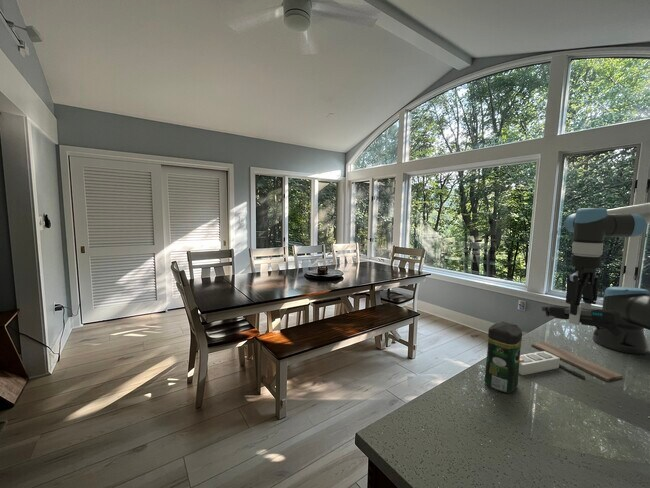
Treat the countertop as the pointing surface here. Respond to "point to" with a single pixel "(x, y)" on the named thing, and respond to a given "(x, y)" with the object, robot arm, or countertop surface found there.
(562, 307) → the gun
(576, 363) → the walnut board
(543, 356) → the power strip
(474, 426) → the countertop surface
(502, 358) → the coffee jar
